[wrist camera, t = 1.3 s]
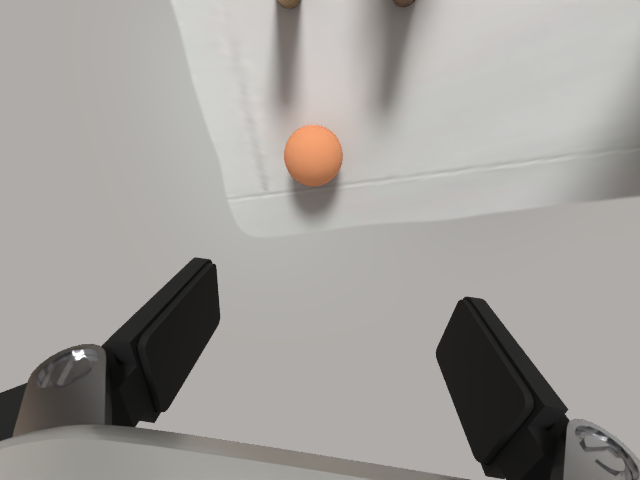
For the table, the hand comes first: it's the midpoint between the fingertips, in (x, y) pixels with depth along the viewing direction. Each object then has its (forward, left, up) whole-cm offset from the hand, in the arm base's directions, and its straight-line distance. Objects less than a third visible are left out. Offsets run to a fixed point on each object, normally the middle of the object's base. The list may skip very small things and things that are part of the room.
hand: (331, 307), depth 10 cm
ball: (+3, -3, -20) cm, 20 cm away
